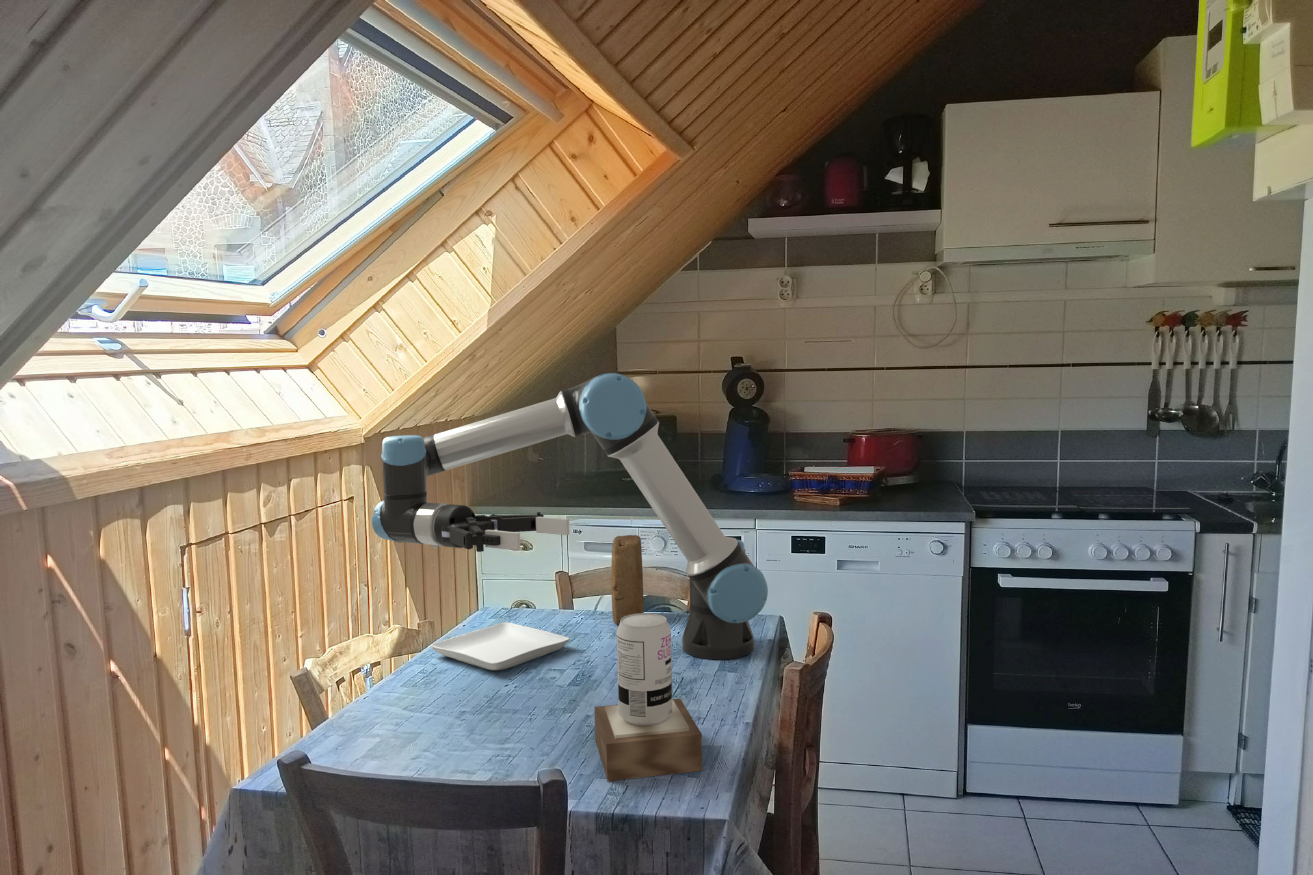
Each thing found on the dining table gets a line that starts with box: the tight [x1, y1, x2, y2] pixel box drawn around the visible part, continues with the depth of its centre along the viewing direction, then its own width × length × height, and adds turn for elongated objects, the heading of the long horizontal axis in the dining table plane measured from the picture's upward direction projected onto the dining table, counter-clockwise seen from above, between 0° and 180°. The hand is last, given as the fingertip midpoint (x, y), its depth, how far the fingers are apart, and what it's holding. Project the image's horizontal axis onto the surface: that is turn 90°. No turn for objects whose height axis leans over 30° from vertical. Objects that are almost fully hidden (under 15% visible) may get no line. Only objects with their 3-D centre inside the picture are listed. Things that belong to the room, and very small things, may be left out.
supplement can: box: [615, 612, 673, 726], centre depth 129 cm, size 8×8×15 cm
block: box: [610, 534, 645, 626], centre depth 200 cm, size 11×8×20 cm
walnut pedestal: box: [593, 698, 703, 782], centre depth 130 cm, size 14×14×6 cm
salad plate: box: [430, 621, 571, 671], centre depth 179 cm, size 21×21×3 cm
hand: (544, 534), depth 141 cm, fingers open, 13 cm apart
